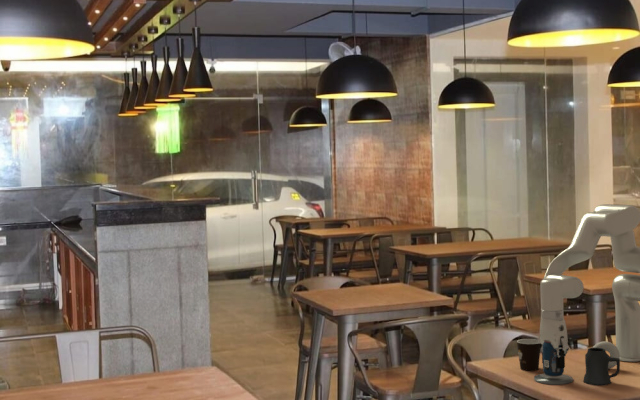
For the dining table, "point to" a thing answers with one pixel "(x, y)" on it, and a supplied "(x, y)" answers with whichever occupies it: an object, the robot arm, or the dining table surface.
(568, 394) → the dining table surface
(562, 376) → the slate coaster
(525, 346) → the coffee mug
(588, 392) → the dining table surface
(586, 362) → the mug
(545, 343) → the soda can
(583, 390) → the dining table surface
